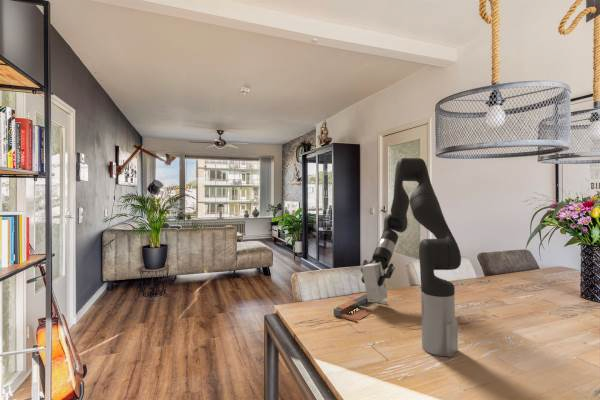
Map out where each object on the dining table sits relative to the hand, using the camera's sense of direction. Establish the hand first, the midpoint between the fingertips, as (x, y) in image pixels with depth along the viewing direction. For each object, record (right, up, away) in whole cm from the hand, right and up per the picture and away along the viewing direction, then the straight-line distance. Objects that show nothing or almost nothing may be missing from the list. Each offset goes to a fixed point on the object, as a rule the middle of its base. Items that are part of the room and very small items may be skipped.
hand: (371, 283), depth 129 cm
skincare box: (+3, -7, +1) cm, 8 cm away
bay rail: (-4, -10, -1) cm, 11 cm away
